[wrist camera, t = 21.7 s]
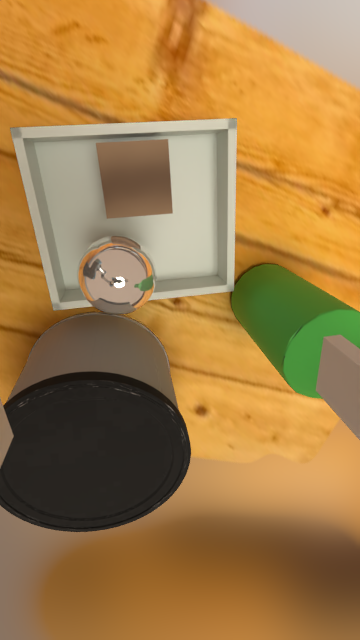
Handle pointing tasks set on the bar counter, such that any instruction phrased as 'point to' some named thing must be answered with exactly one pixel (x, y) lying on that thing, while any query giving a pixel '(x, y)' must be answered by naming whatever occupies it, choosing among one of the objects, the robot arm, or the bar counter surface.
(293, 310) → the bottle
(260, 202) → the bar counter surface
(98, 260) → the light bulb
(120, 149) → the walnut block
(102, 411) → the container
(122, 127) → the tray
